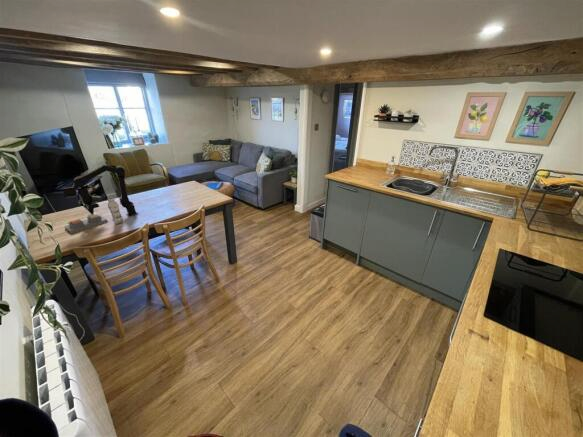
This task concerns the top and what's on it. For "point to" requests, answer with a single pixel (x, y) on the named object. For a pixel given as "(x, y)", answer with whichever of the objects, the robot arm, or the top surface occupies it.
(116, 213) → the plastic bottle
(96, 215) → the beige cube
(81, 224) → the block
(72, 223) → the orange cube
